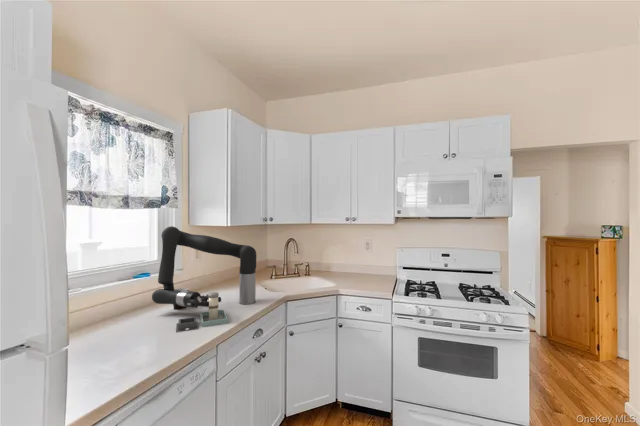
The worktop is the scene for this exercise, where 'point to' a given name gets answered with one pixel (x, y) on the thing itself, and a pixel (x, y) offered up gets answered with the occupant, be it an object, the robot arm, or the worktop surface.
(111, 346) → the worktop surface
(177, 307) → the coffee mug
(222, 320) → the parts tray
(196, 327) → the fuse holder
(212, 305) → the cylinder
